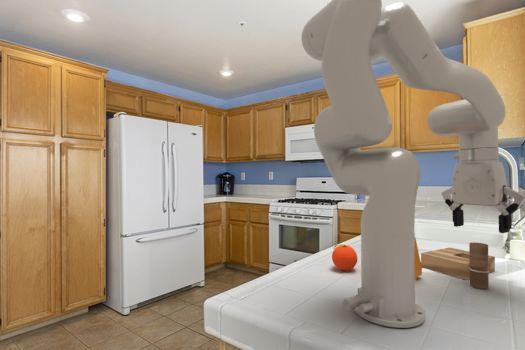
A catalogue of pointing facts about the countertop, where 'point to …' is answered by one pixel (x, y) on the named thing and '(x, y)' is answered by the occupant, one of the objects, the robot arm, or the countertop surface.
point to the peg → (478, 265)
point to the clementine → (344, 257)
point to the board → (451, 262)
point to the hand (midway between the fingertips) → (480, 229)
